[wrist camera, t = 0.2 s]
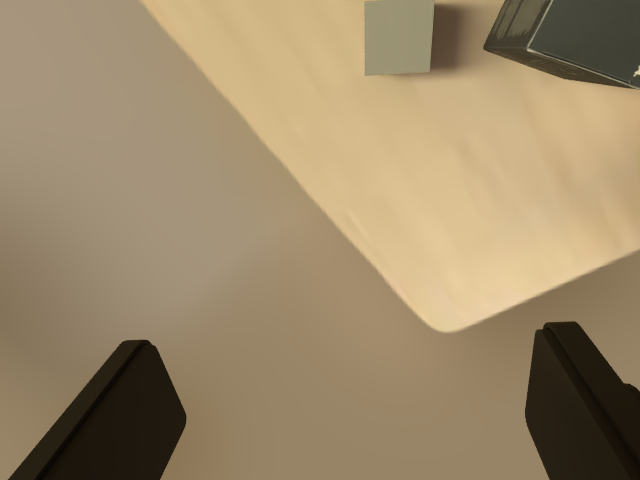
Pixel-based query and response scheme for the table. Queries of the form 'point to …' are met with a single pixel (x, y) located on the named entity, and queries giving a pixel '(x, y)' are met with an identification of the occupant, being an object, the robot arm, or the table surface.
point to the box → (572, 39)
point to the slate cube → (398, 36)
